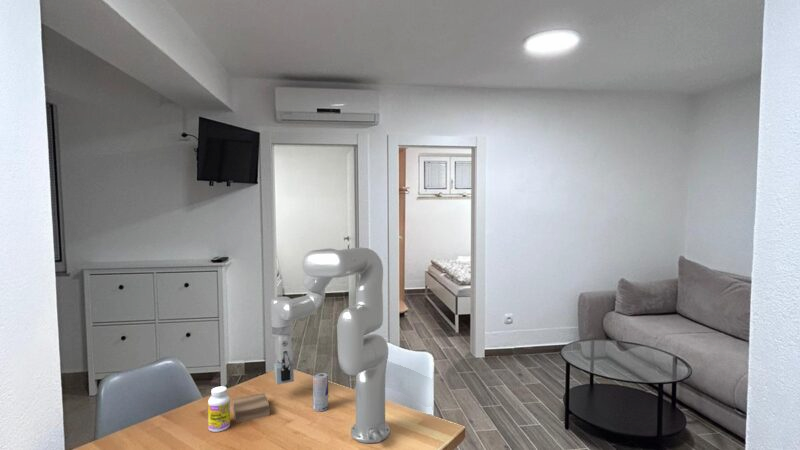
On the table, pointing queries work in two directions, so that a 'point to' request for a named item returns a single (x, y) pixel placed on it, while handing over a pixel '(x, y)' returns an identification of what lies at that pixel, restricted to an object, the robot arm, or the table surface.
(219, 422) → the supplement bottle
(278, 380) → the slate cube
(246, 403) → the walnut block
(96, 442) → the table surface
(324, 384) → the energy drink
